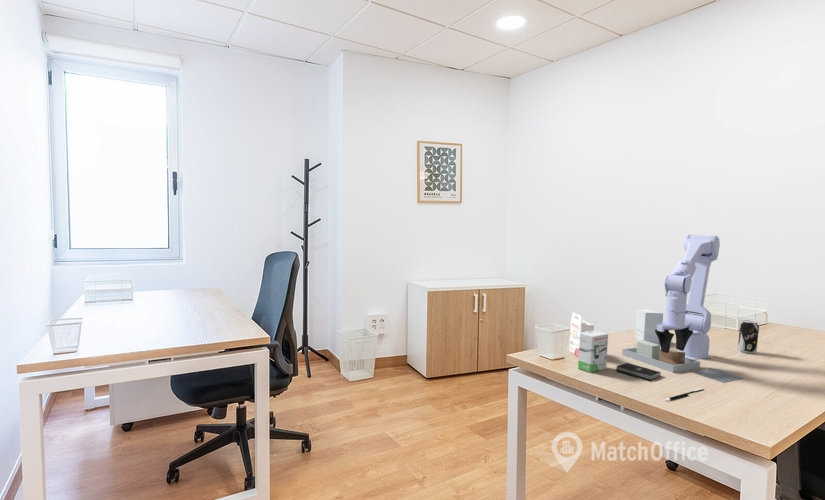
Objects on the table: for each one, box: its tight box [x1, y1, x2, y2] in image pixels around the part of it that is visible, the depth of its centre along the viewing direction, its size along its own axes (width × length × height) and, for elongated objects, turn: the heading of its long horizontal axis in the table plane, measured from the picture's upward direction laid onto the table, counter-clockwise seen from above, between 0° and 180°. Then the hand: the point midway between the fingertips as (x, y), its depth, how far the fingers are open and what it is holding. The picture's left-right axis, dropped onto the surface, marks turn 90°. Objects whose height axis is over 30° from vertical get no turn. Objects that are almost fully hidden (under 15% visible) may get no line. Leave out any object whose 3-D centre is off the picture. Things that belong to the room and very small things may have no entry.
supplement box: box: [634, 308, 664, 345], centre depth 178 cm, size 7×7×13 cm
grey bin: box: [621, 346, 701, 373], centre depth 152 cm, size 13×19×2 cm
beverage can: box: [737, 319, 760, 355], centre depth 167 cm, size 6×6×12 cm
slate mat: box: [690, 367, 744, 384], centre depth 139 cm, size 10×10×1 cm
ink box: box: [577, 330, 609, 373], centre depth 143 cm, size 9×5×12 cm, turn 123°
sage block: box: [636, 340, 661, 360], centre depth 156 cm, size 4×6×5 cm, turn 24°
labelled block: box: [660, 347, 685, 365], centre depth 148 cm, size 4×6×5 cm, turn 24°
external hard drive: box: [616, 362, 662, 382], centre depth 139 cm, size 7×11×2 cm, turn 37°
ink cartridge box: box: [568, 311, 595, 358], centre depth 158 cm, size 9×5×15 cm, turn 5°
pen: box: [665, 387, 705, 402], centre depth 123 cm, size 1×19×1 cm, turn 118°
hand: (672, 351), depth 147 cm, fingers open, 7 cm apart
